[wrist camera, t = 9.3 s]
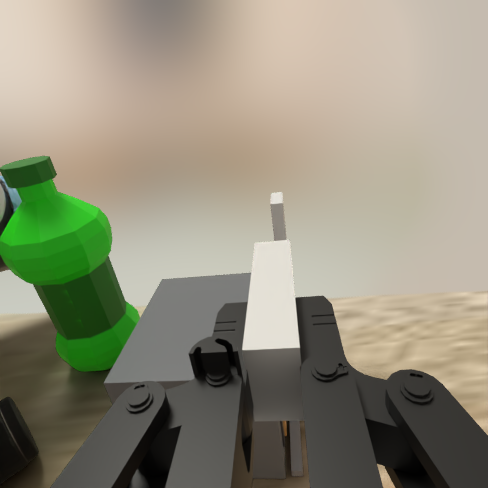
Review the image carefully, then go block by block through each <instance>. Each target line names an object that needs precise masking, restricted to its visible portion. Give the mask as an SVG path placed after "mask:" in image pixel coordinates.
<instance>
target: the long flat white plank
mask: <svg viewBox="0 0 488 488" xmlns="http://www.w3.org/2000/svg"><path fill="white" fill-rule="evenodd" d="M271 213H272V222H273V231H274V241H280V240H287V239H286V228H285V217H284V206H283V197H282V192H278V193H271Z"/></svg>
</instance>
